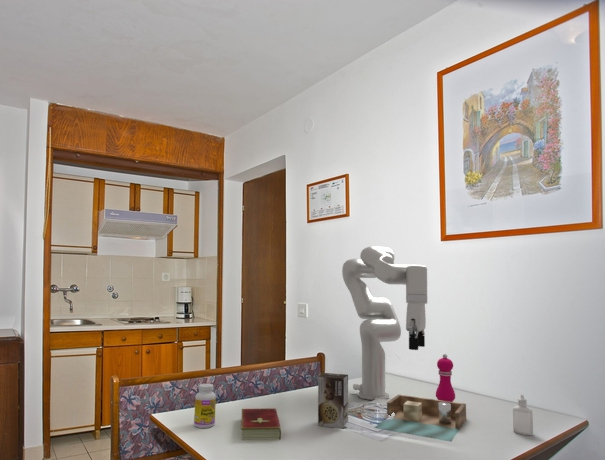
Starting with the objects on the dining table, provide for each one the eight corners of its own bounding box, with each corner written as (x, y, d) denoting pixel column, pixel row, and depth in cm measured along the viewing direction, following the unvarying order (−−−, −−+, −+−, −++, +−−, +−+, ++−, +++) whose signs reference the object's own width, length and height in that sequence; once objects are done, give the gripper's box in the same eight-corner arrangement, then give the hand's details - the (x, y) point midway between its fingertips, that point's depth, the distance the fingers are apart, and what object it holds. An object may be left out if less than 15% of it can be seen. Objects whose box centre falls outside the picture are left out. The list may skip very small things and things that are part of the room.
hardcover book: (276, 420, 162) (276, 407, 163) (280, 441, 142) (281, 426, 142) (241, 420, 161) (241, 407, 162) (240, 442, 140) (241, 427, 141)
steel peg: (437, 422, 157) (437, 404, 158) (440, 419, 161) (439, 401, 161) (449, 424, 155) (449, 405, 156) (452, 421, 159) (451, 403, 159)
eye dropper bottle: (525, 436, 148) (524, 397, 149) (511, 431, 153) (510, 393, 154) (535, 435, 149) (534, 396, 151) (521, 429, 155) (519, 392, 156)
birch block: (403, 419, 161) (403, 404, 161) (407, 415, 165) (407, 400, 166) (418, 421, 158) (418, 406, 159) (421, 417, 163) (421, 402, 163)
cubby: (374, 430, 151) (374, 411, 152) (398, 411, 174) (398, 394, 174) (451, 444, 140) (450, 423, 140) (466, 421, 162) (465, 403, 163)
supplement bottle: (198, 430, 149) (199, 388, 150) (191, 424, 155) (192, 384, 156) (218, 426, 153) (219, 386, 154) (210, 421, 158) (211, 382, 159)
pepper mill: (453, 405, 183) (452, 352, 185) (457, 410, 176) (456, 355, 178) (434, 404, 184) (433, 352, 186) (437, 409, 177) (437, 355, 179)
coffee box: (348, 423, 158) (349, 374, 160) (344, 429, 152) (344, 378, 154) (322, 420, 161) (323, 372, 163) (317, 426, 155) (317, 375, 157)
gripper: (412, 297, 180) (412, 344, 178) (399, 299, 165) (399, 350, 163) (432, 298, 176) (433, 345, 175) (421, 300, 161) (421, 352, 159)
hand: (416, 347), depth 169 cm, fingers open, 8 cm apart
